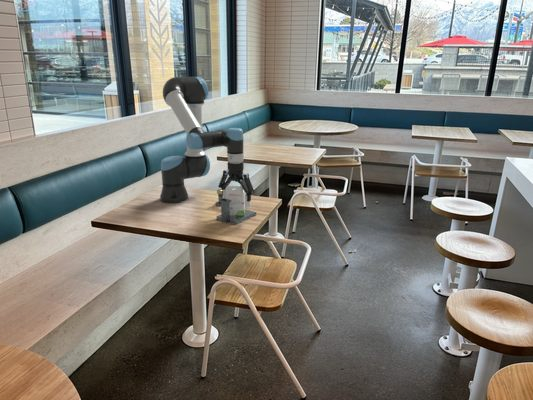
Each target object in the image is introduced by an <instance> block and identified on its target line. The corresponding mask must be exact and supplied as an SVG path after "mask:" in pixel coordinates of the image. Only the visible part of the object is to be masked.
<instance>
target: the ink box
mask: <svg viewBox="0 0 533 400" xmlns="http://www.w3.org/2000/svg"><path fill="white" fill-rule="evenodd" d="M245 195H246V193H245V191H244V190H243V188H242V186H241V185H240V186H235V185H234V186H233V185H231V186H230V185H228V186H227V187H226V199H229V200H231V202H230V203H229V209H230V215H232V216H244V214H245V209H246V208H245Z"/></svg>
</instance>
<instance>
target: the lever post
mask: <svg viewBox="0 0 533 400" xmlns="http://www.w3.org/2000/svg"><path fill="white" fill-rule="evenodd" d="M217 196H218V201H216V202H215V203H214V205H215V207H216V206H217V207H221V202H219V200H220V199H223V195H218V194H217Z"/></svg>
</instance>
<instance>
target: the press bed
mask: <svg viewBox="0 0 533 400" xmlns="http://www.w3.org/2000/svg"><path fill="white" fill-rule="evenodd" d="M219 202H221V206H220V208H221V210H220V212H221V214H219V215H216V220H218V221H221V223H224V224H228V223H229V224H233V225H238V224H240V223H243V222H244V221H246V220H249V219H252V218H253V217H256V216H257V211H254V210H250V209H249V210H248V209H247V208H245V214H244V216H232V215H230V209H229V203H230V202H231V200H229V199H225V198H223V199H220V200H219Z"/></svg>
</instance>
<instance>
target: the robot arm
mask: <svg viewBox="0 0 533 400" xmlns="http://www.w3.org/2000/svg"><path fill="white" fill-rule="evenodd" d="M208 96H209V87H208V84H207V82H206V81H205V79H204V78H202V77H200V76H174V77H171V78H169V79H168V80H167V81H166V82H165V83H164V85H163V88H162V97H163V100H164V102H165V104H166V105H167V106H168V107H170V108H171V110H172V111H173V113H174V114H175V116H176V118H177V119H178V121H179V123H180V125H181V126H182V128H183V129H184V131H185V133H186V134H185V136H186V140H185V143H186V151H185V152H184V155H183V156H184V157H183V156H182V155H171V156H166V157H165V158H163V159H162V160H161V162H160V170H161V171H160V172H161V182H162V184H161V185H162V187H161V192H160V195H159V196H160V197H159V200H160V202H162V203H165V204H177V203H178V204H179V203H183V202H185V201H188V199H189V193H188V191H187V188H186V186H185V180H189V179H194V178H201V177H205V176H207V175H208V174H209V172H210V169H211V161H210V158H209V156H208V155H206V154H207V153H206V152H205V151H204V149H208V148H209V149H211V148H218V147H219V148H220V147H225V148H226V151H227V152H226V153H227V155H226V156H227V169H224V170H223V171H222V175H221V178H220V181H219V184H218V189H222V195H223V198H225V199H226V187H227V186H230V184H231V183H232V182H236V183H238V184H239V185H240V187H241V186H242V188H243V190H244V191H245V209H248V208H250V207H251V201H252V195H254V194H255V190H254V187H253V184H252V182H251V180H250V174H249V173H248V172H247V173H244V169H245V166H244V165H245V164H244V160H245V159H244V157H245V156H244V131H243V129H242V128H240V127H229V128H227V129H223V128H222V129H220V128H219V129H216V130H212V131H211V130H209V131H205V130H204V129H203V118H202V116H203V113H202V106H203V105H204V104H205V101H206V100H207V98H208Z"/></svg>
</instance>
